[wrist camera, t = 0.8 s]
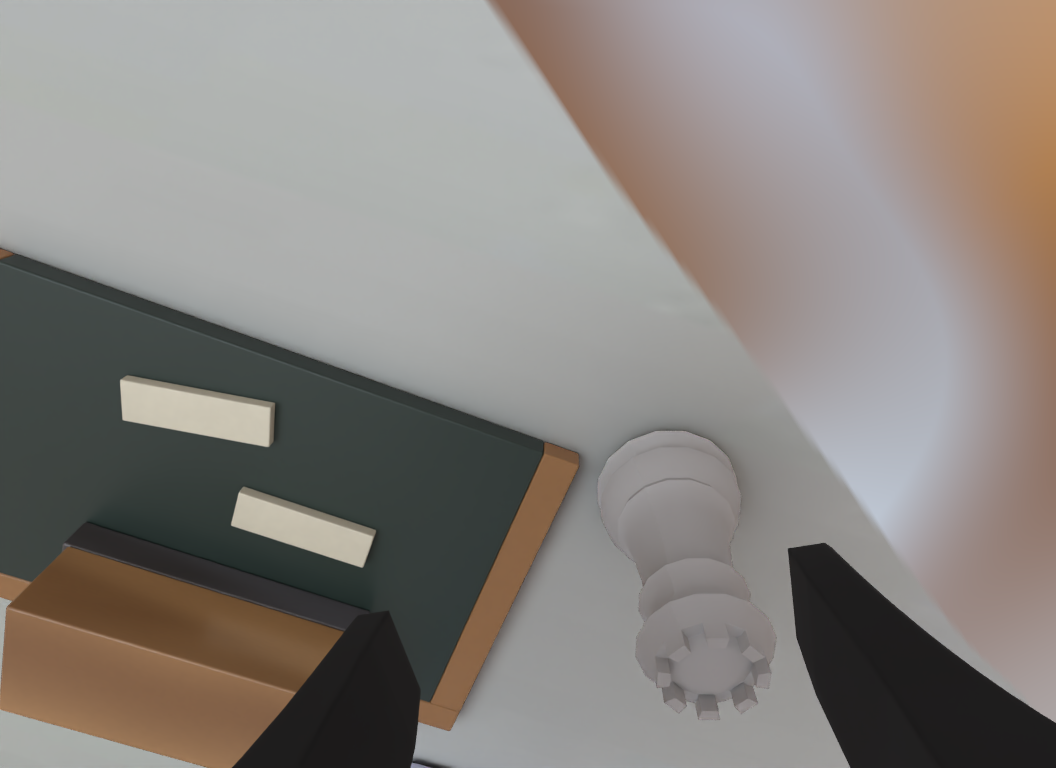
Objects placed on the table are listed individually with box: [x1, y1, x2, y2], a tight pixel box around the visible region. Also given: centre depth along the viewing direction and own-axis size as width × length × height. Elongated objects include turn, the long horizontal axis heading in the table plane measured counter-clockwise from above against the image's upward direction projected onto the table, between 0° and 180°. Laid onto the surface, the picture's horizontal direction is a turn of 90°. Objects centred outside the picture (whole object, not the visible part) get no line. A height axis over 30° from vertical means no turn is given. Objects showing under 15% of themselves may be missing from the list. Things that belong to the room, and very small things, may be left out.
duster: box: [0, 522, 370, 768], centre depth 23 cm, size 4×10×4 cm, turn 69°
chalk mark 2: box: [231, 487, 376, 568], centre depth 23 cm, size 4×1×1 cm, turn 69°
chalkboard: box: [0, 249, 579, 731], centre depth 24 cm, size 13×19×1 cm
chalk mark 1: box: [120, 375, 275, 447], centre depth 21 cm, size 4×1×1 cm, turn 79°
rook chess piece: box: [597, 431, 777, 720], centre depth 19 cm, size 4×4×8 cm
